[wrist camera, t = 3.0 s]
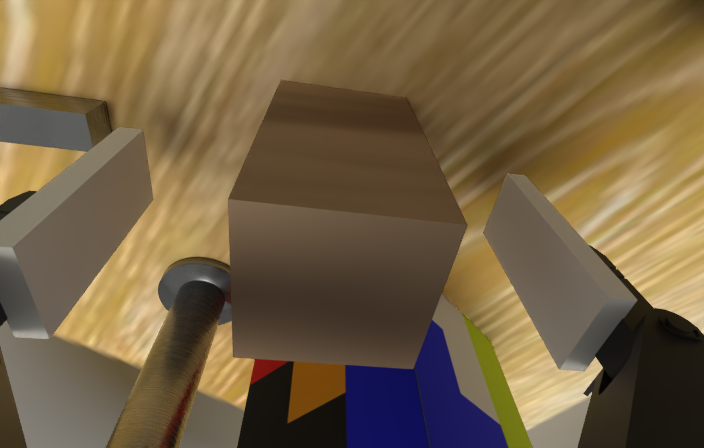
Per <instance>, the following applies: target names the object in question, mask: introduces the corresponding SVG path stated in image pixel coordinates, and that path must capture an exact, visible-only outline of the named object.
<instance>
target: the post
mask: <svg viewBox="0 0 704 448" xmlns="http://www.w3.org/2000/svg"><path fill="white" fill-rule="evenodd" d="M158 294H159V298H160V300H161V302H162V304H163V305H164V306H165V308H166V309H167V310H168V311H169V312H168V314H167V316H166V319H165V321H164V323H163V325H162V327H161V329H160V331H159V333H158V336H157V338H156V340H155V342H154V344H153V346H152V348H151V351H150V353H149V355H148V357H147V359H146V361H145V363H144V365H143V368H142V370H141V372H140V374H139V376H138V378H137V380H136V383H135V385H134V387H133V389H132V391H131V393H130V395H129V397H128V399H127V402H126V404H125V406H124V408H123V410H122V412H121V414H120V417H119V419H118V421H117V423H116V425H115V427H114V430H113V431H112V434H111V436H110V438H109V440H108V442H107V444H106V446H105V448H179V444H180V441H181V438H182V435H183V432H184V429H185V426H186V422H187V419H188V416H189V413H190V410H191V407H192V404H193V401H194V398H195V395H196V392H197V388H198V385H199V382H200V379H201V376H202V373H203V370H204V367H205V363H206V360H207V357H208V354H209V351H210V348H211V345H212V342H213V338H214V335H215V332H216V329H217V326H218V325H221V324H225V323H227V322H230V321H232V307H231V276H230V267H229V266H227V265H226V264H223V263H221V262H219V261H216V260H212V259H208V258H187V259H183V260H180V261H178V262H175V263H174V264H172V265H171V266H170V267H169V268H168V269H167V270H166V272H165V273H164V275H163V277H162V279H161V281H160V283H159V286H158Z"/></svg>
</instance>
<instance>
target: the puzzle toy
mask: <svg viewBox="0 0 704 448" xmlns="http://www.w3.org/2000/svg"><path fill="white" fill-rule="evenodd" d="M237 448H533V447H532V445H531V442H530V440H529V437H528V435H527V432H526V429H525V427H524V424H523V422H522V419H521V417H520V414H519V412H518V409H517V407H516V404H515V402H514V399H513V397H512V394H511V391H510V389H509V386H508V384H507V381H506V379H505V376H504V374H503V371H502V369H501V366H500V364H499V361H498V359H497V356H496V353H495V351H494V348H493V346H492V343H491V341H490V340H489V339H488V338H487V337H486V336H485V335H484V334H483V333H482V332H481V331H480V330H479V329H477V328H476V327H475V326H474V325H473V324H472V323H471V322H470V321H469V320H468V319H467V318H466V317H465V316H464V315H463V314H462V313H461V312H460V311H459V310H458V309H457V308H456V307H455V306H454V305H453V304H452V303H451V302H449V301H448V300H447V299H446V298H445V297H444V296H443V295H442V294H441V297H440V300H439V302H438V305H437V307H436V310H435V313H434V315H433V318H432V321H431V323H430V326H429V329H428V331H427V334H426V337H425V339H424V342H423V345H422V347H421V350H420V353H419V355H418V358H417V360H416V363H415V366H414V368H413V369H402V368H387V367H372V366H357V365H342V364H326V363H311V362H296V361H281V360H266V359H255V362H254V367H253V372H252V377H251V382H250V387H249V392H248V397H247V402H246V407H245V412H244V417H243V421H242V426H241V431H240V437H239V441H238V446H237Z"/></svg>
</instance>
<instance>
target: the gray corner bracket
mask: <svg viewBox="0 0 704 448" xmlns="http://www.w3.org/2000/svg"><path fill="white" fill-rule="evenodd" d="M110 134H111V128H110V123H109V118H108V113H107V108H106V103H105V101H98V100H91V99H83V98H75V97H67V96H60V95H52V94H44V93H37V92H29V91H21V90H13V89H6V88H0V142H9V143H17V144H26V145H35V146H43V147H52V148H60V149H69V150H78V151H86V152H88V151H89V150H90V149H92V148H93V147H94V146H96V145H97V144H98V143H99V142H101V141H102V140H103V139H104V138H106V137H107V136H108V135H110Z"/></svg>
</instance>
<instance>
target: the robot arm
mask: <svg viewBox="0 0 704 448" xmlns="http://www.w3.org/2000/svg"><path fill="white" fill-rule="evenodd" d="M152 201H153V193H152V186H151V179H150V172H149V166H148V159H147V152H146V145H145V139H144V132H143V129H134V128H126V127H118V128H117V129H116V130H115V131H113V132H112V133H111V134H110V135H108V136H107V137H106V138H104V139H103V140H102V141H101V142H99V143H98V144H97V145H96V146H94V147H93V148H92V149H90V150H89V151H88V152H87V153H85V154H84V155H83V156H82V157H80V158H79V159H78V160H77V161H75V162H74V163H73V164H71V165H70V166H69V167H68V168H66V169H65V170H64V171H63V172H61V173H60V174H59V175H57V176H56V177H55V178H54V179H52V180H51V181H50V182H49V183H47V184H46V185H45V186H43V187H42V188H41V189H40V190H38V191H28V192H25V193H23V194H20V195H18V196H16V197H13V198H11V199H8V200H7V201H6V202H4V203H3V204H2V205H0V326H1V325H2V324H3V323H4V322H5V321H6V320H7V322H8V324H9V326H10V328H11V330H12V332H13V335H14V337H25V338H40V339H50V338H51V336H52V335H53V334H54V332H55V331H56V330H57V328H58V327H59V326H60V324H61V323H62V322H63V320H64V319H65V318H66V316H67V315H68V314H69V312H70V311H71V310H72V308H73V307H74V305H75V304H76V303H77V301H78V300H79V299H80V297H81V296H82V295H83V293H84V292H85V291H86V289H87V288H88V287H89V285H90V284H91V283H92V281H93V280H94V279H95V277H96V276H97V275H98V273H99V272H100V271H101V269H102V268H103V266H104V265H105V264H106V262H107V261H108V260H109V258H110V257H111V256H112V254H113V253H114V252H115V250H116V249H117V248H118V246H119V245H120V244H121V242H122V241H123V240H124V238H125V237H126V236H127V234H128V233H129V232H130V230H131V229H132V227H133V226H134V225H135V223H136V222H137V221H138V219H139V218H140V217H141V215H142V214H143V213H144V211H145V210H146V209H147V207H148V206H149V205H150V203H151V202H152ZM483 233H484V235H485V237H486V238H487V240H488V242H489V244H490V246H491V248H492V249H493V251H494V253H495V255H496V257H497V258H498V260H499V262H500V264H501V266H502V267H503V269H504V271H505V273H506V275H507V276H508V278H509V280H510V282H511V284H512V285H513V287H514V289H515V291H516V293H517V294H518V296H519V298H520V300H521V302H522V303H523V305H524V307H525V309H526V311H527V312H528V314H529V316H530V318H531V320H532V321H533V323H534V325H535V327H536V329H537V330H538V332H539V334H540V336H541V338H542V340H543V341H544V343H545V345H546V347H547V349H548V350H549V352H550V354H551V356H552V358H553V359H554V361H555V363H556V365H557V367H558V368H559V370H574V371H585V370H586V369H587V367H588V366H589V365H590V363H591V362H592V361H593V359H594V358H595V357H596V358H597V359H598V361H599V362H600V364H601V365H602V367H603V369H602V370H601V372H600V373H599V374H598V375H597V377H596V378H595V379H594V380H593V382H592V383H591V384H590V386H589V387H588V388H587V389H586V391H585V392H584V393H583V394H585V395H586V396H588V395H589V394H590V393H591V392H592V396H591V399H590V403H589V407H588V411H587V415H586V418H585V422H584V426H583V429H582V433H581V437H580V441H579V444H578V448H704V335H703V334H702V333H701V331H700V330H699V329H698V328H697V327H696V326H694V325H693V324H692V323H691V322H689V321H688V320H686V319H685V318H683V317H681V316H679V315H677V314H675V313H673V312H670V311H667V310H663V309H657V308H655V309H654V308H653V307H652V306H651V305H650V304H649V303H648V302H647V300H646V299H645V298H644V297H643V296H642V295H641V294H640V293H639V292H638V291H637V290H636V289H635V287H634V286H633V285H632V284H631V283H630V282H629V281H628V280H627V279H624V276H623V274H622V273H621V272H620V271H619V270H617V269H616V267H615V266H614V265H613V264H612V263H611V261H610V260H609V259H608V258H607V257H606V256H605V255H603V254H602V253H600V252H599V251H598V250H596V249H595V248H593V247H592V246H590V245H588V244H587V243H586V242H585V241H584V240H583V238H582V237H581V236H580V235H579V234H578V233H577V232H576V231H575V230H574V228H573V227H572V226H571V225H570V224H569V223H568V222H567V221H566V220H565V218H564V217H563V216H562V215H561V214H560V213H559V212H558V211H557V210H556V208H555V207H554V206H553V205H552V204H551V203H550V202H549V201H548V200H547V198H546V197H545V196H544V195H543V194H542V193H541V192H540V191H539V189H538V188H537V187H536V186H535V185H534V184H533V183H532V182H531V181H530V179H529V178H528V177H527V176H526V175H518V174H510V173H507V174H506V177H505V179H504V182H503V184H502V187H501V189H500V192H499V194H498V197H497V199H496V202H495V204H494V207H493V209H492V212H491V214H490V217H489V219H488V222H487V224H486V227H485V229H484V232H483ZM0 448H27V446H26V442H25V438H24V434H23V431H22V427H21V423H20V419H19V415H18V412H17V408H16V404H15V400H14V396H13V393H12V389H11V385H10V381H9V378H8V374H7V370H6V366H5V363H4V359H3V355H2V351H1V348H0Z"/></svg>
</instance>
